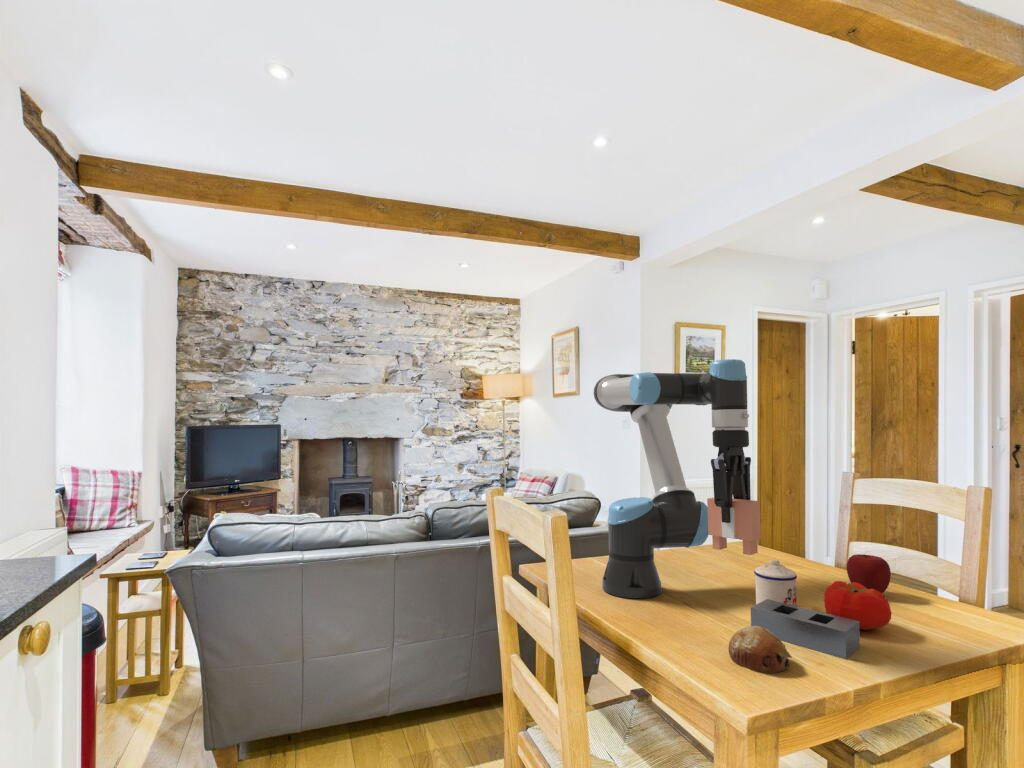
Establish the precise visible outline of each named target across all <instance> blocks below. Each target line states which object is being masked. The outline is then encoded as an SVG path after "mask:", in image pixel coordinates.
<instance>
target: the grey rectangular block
mask: <svg viewBox="0 0 1024 768" xmlns="http://www.w3.org/2000/svg"><path fill="white" fill-rule="evenodd" d="M750 626H760V627H763V628H765V629H767V630H769V631H770V632H772V633H773V634H774V635H775V636H776V637H778V638H779V639H780V640H781V642H786V643H789V644H792V645H796V646H799V647H803V648H807V649H809V650H813V651H815V652H816V651H817V652H820V653H823V654H827V655H830V656H834V657H837V658H840V659H844V660H847V659H848V658H850V657H851V656H852V655H853V654H854V653H855V652H857V651H858V650H859V649H860V648H861V639H860V638H861V636H860V635H861V634H860V629H859V621H856V620H852V619H848V618H844V617H839V616H835V615H831V614H827V613H826V612H823V611H818V610H815V609H809V608H805V607H801V606H798V605H797V606H794V605H789V604H785V603H781V602H777V601H773V600H769V599H766V600H764V601H762V602H760V603H758V604H757V605H756V604H755V605H753V606H750Z"/></svg>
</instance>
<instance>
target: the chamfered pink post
mask: <svg viewBox="0 0 1024 768" xmlns="http://www.w3.org/2000/svg"><path fill="white" fill-rule="evenodd" d="M706 500H707V505H706V506H707V507H708V534H709V535H708V536H712V549H714V550H718V551H721V550H724V549H727V548H728V544H727V543H728V538H725V537H722V520H721V507H717V506H716V504H715V503H714V497H710V498H709V497H708V498H707V499H706ZM760 503H761V502H760V500H752V499H751V500H743V499H734V498H732V508H734V510H735V535H736V538H735V539H734V540H739V541H740V540H741V541H742V555H748V556H752V555H756V554H758V553H759V552H758V550H759V549H758V541H759V540H762V531H761V530H762V528H761V524H762V523H761V506H760V505H761V504H760Z"/></svg>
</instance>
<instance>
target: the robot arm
mask: <svg viewBox="0 0 1024 768" xmlns="http://www.w3.org/2000/svg"><path fill="white" fill-rule="evenodd" d="M709 366H710V367H709V372H704V373H703V372H700V373H698V372H693V373H692V372H691V373H690V372H687V373H685V372H683V373H681V372H679V373H677V372H675V373H673V372H672V373H671V372H670V373H667V372H650V371H649V372H637V373H635V374H630V373H629V374H628V373H627V374H626V373H625V374H624V373H623V374H621V373H615V374H610V375H606V376H604V377H602V378H600V379H599V380H598V381H597V382H596V383H595V386H594V388H593V398H594V400H595V402H596V403H597V405H599V406H600V407H601V408H602V409H605V410H608V411H611V412H621V413H622V412H624V413H625V412H626V413H630V417H631V420H632V421H633V422H634V423H636V424H638V428H639V433H640V437H641V441H642V444H643V448H644V454H645V456H646V461H647V465H648V468H649V473H650V478H651V481H652V485H653V489H654V493H655V495H654V496H653V498H650V497H628V498H627V497H626V498H621V499H618V500H615V501H613V502H612V503H611V504H610V505H609V506H608V515H607V517H608V518H607V525H608V526H607V527H608V530H607V531H608V532H607V533H608V560H607V564H606V566H605V571H604V573H603V577H602V580H601V581H602V583H601V585H602V587H601V588H602V590H603V591H604V592H605V593H607V594H609V595H612V596H615V597H618V598H627V599H647V598H648V599H649V598H654V597H657V596H659V595H661V593H662V581H661V579H660V576H659V572H658V569H657V566H656V563H655V557H654V556H655V553H654V552H655V551H654V550H655V549H667V548H668V549H669V548H671V549H672V548H687V549H688V548H691V547H698V546H699V547H700V546H702V545H703V544H705V542H706V541H707V539H708V537H709V536H710V535H709V534H708V506H707V505H706V503H705V502H703V501H700V500H697V498H696V495H695V492H694V491H693V490H691V489H689V488H688V487H687V484H686V481H685V477H684V474H683V470H682V467H681V463H680V460H679V459H680V458H679V456H678V452H677V450H676V449H677V448H676V446H675V442H674V439H673V435H672V431H671V429H670V424H669V421H668V418H667V417H668V415H669V414H670V411H671V409H672V407H673V405H694V406H708V405H711V427H712V428H714V430H713V431H712V445H713V447H715V448H718V453H717V457H716V458H711V459H710V465H711V469H712V482H713V498H714V503H715V504H716V506H717V507H721V520H722V537H725V538H727V539H730V540H731V539H732V540H733V539H734V540H736V539H735V538H736V535H735V510H734V508H732V499H743V500H752V498H751V497H752V496H751V463H752V457H750V456H745V452H744V449H743V448H748V447H749V446H750V434H749V432H750V431H748V430H747V429H746V428H748V427H749V417H750V414H749V412H748V376H747V371H746V370H747V369H746V363H745V361H743V360H742V359H735V358H734V359H731V358H729V359H717V360H713V361H711V363H710V365H709Z"/></svg>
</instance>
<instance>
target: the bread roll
mask: <svg viewBox="0 0 1024 768" xmlns="http://www.w3.org/2000/svg"><path fill="white" fill-rule="evenodd" d="M728 653H729V657H730V659H731V661H733V663H734V664H736V665H738V666H739V667H742V668H744V669H747V670H751V671H754V672H759V673H763V674H764V673H766V674H777V673H781V672H783V671H785V670H786V669H787V668H790V663H789V659H788V658H790V659H792V655H791V654H790V652H789V651H788V650H787V648H786V645H785V644H784V643H783V641H781V640H780V639H779V638H778V637H776V636H775V635H774V634H773V633H772V632H770V631H769V630H767V629H765V628H763V627H760V626H751V625H749V626H746V627H744V628H741V629H739V630H737V631H735V633H734V634H733V635H732V636H731V638H730V640H729V643H728Z"/></svg>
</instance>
